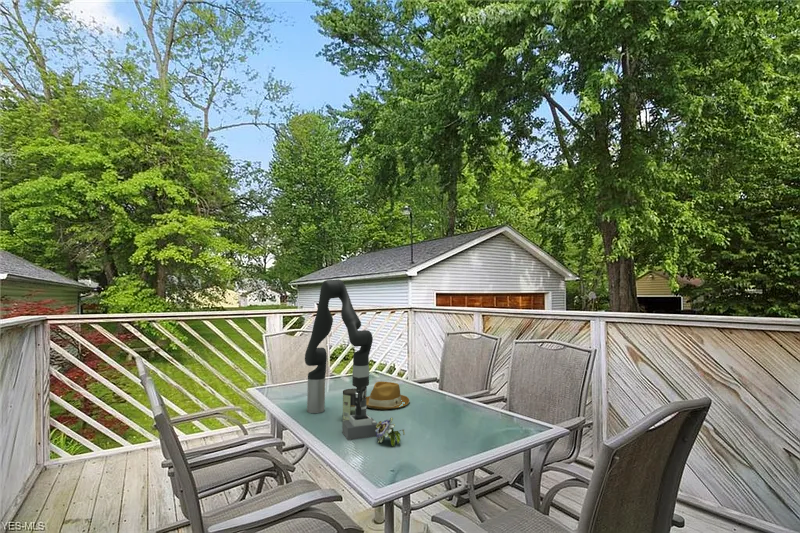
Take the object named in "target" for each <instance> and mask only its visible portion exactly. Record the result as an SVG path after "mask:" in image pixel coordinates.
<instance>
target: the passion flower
mask: <svg viewBox="0 0 800 533" xmlns="http://www.w3.org/2000/svg"><path fill="white" fill-rule="evenodd" d="M393 420H394V418H393V417H390V419H385V420H384V421H382V420H380V421H378V422H377V423H378V424H377V426H376V430H375V431H376V434H377V436H376V438H377V440H378V441H377V442H376V443H378V444H380V443H383V442H384V440H385V438H388V439H390V444H391V447H393V448H395V445H396V443H397V445H399V444H400V442H401V436H402V435H401V433H400V432H401V431H402V434H403V436H405V435H406V434H405V429H399V430H394V428H395V426H396V424H395V423H393Z"/></svg>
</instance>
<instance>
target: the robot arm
mask: <svg viewBox="0 0 800 533" xmlns="http://www.w3.org/2000/svg"><path fill="white" fill-rule="evenodd" d="M331 299H339V301H341V310H340V311H341V313H340V317H341V319H342V322H343V323H344V326H345V327H346V330H347V335H348V339H349V343H350V344H351V345H352V346H353V347H360V348H359V350H357V351H355V352H354V353H353V355H352V356H353V359H352V378H351V380H352V382H351V384H352V386H353V387H355V388H356V391H355V393H354V406H356V415H361V404H362V401H363V399H366V397H367V388H368V386H369V384H370V366H369V365H370V364H369V363H370V362H369V361H370V360H369V359H370V357H369V356H370V353H371V348H372V344H373V334H372V332H371V331H370V330H368V329H363V330H359V329H361V327H362V322H361V320H360V318H359V316H358V314H357V313H356V310H355V309H354V307H353V304H352V301H351V298H350V295H349V292H348V290H347V287H346V285H345V283H344V281H342V280H341V279H327V280H324V281H323V282H322V284H321V287H320V292H319V299H318V306H317V310H316V314H315V317H314V318H315V319H314V320H313V325H312V326H313V327H312V332H311V334H310V335H311V336H310V339H309V342H308V345H307V346H306V351H305V354H304V362H305V365H306V366H309V367H313V366H316V367H315V368H314V369H313V370H311V371H310V372H309V371H308V374H307V393H306V394H307V395H306V396H307V401H306V403H307V404H306V412H307V413H309V414H320V413H323V412H325V407H326V405H325V404H326V403H325V402H326V374H327V362H328V361H327V360H328V359H327V358H328V355H327V350H326V348H325V347H318V346H319V345H320V344H321V343H322V341H324V340H325V339H326V338H327V337H328V336H329V334H330V333H331V330H332V327H333V322H334V318H333V315H332V313H331V311H330V308H329V303H330V300H331ZM360 398H361V399H360ZM357 402H359V403H357Z"/></svg>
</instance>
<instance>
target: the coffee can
mask: <svg viewBox="0 0 800 533" xmlns="http://www.w3.org/2000/svg"><path fill="white" fill-rule="evenodd" d="M356 388H357V387H355V388H354V387H353V388H345V389H344V390H342V421H347V420H349V415H355V406H354V393H355V391H356Z"/></svg>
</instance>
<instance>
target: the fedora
mask: <svg viewBox="0 0 800 533" xmlns="http://www.w3.org/2000/svg"><path fill="white" fill-rule="evenodd" d="M401 400H402V401H401ZM402 402H405V404H403V406H401V407H399V406H400V405H401V404H402ZM409 403H410V399H409V397H408V396H406V395H404V394H401V389H400V385H399V383H396V382H392V381H382V380H381V381H376V382H375V383H374V385H373V388H372V390H371V392H370V395H368V396H366V405H367V408H369V409H372V410H381V411H382V410H383V411H384V410H385V411H386V410H393V409H394V410H395V409H399V408H403V407H405V406H407V405H408V404H409Z"/></svg>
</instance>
